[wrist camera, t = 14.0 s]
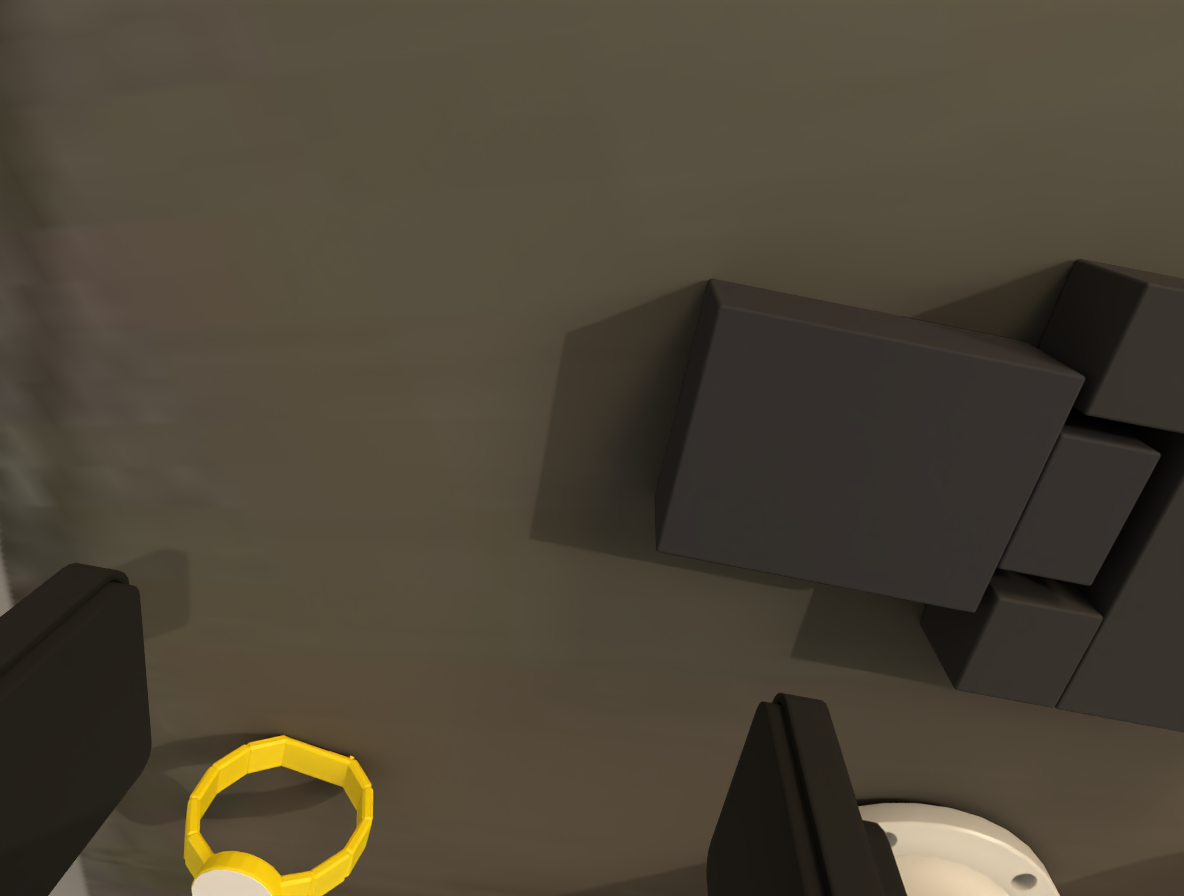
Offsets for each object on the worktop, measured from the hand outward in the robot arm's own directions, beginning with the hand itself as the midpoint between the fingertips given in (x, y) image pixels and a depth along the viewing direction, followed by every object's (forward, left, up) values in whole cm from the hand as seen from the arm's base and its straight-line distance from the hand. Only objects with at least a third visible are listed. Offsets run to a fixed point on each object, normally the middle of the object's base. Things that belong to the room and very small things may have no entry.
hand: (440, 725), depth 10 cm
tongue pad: (+6, -7, -14) cm, 17 cm away
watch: (-17, -5, -14) cm, 23 cm away
